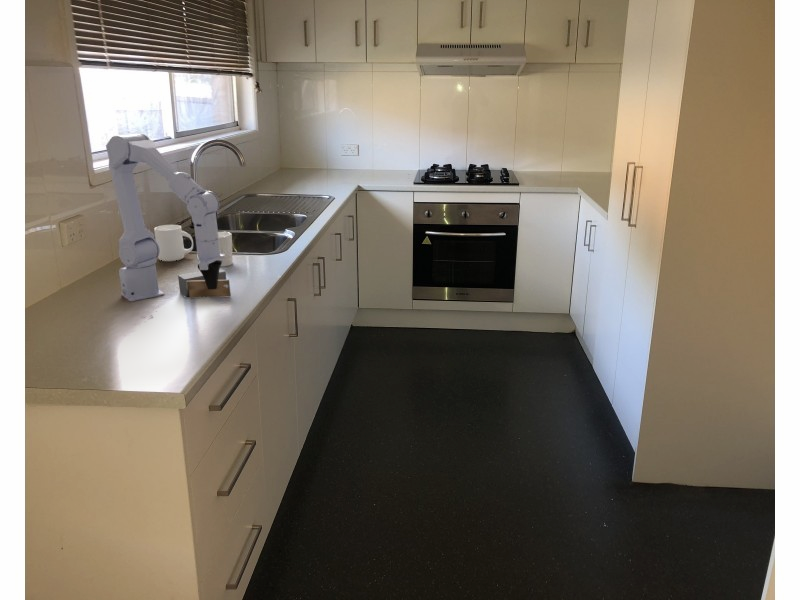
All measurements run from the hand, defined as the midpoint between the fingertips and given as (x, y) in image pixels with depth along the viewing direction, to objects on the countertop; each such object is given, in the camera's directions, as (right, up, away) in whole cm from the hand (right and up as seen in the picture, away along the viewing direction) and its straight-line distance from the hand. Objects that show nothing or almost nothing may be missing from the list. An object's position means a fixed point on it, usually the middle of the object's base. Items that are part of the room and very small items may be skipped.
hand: (212, 288), depth 171 cm
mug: (-26, +11, +46) cm, 54 cm away
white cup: (-8, +9, +39) cm, 41 cm away
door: (-3, -2, +6) cm, 7 cm away
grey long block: (-6, 0, +12) cm, 13 cm away
